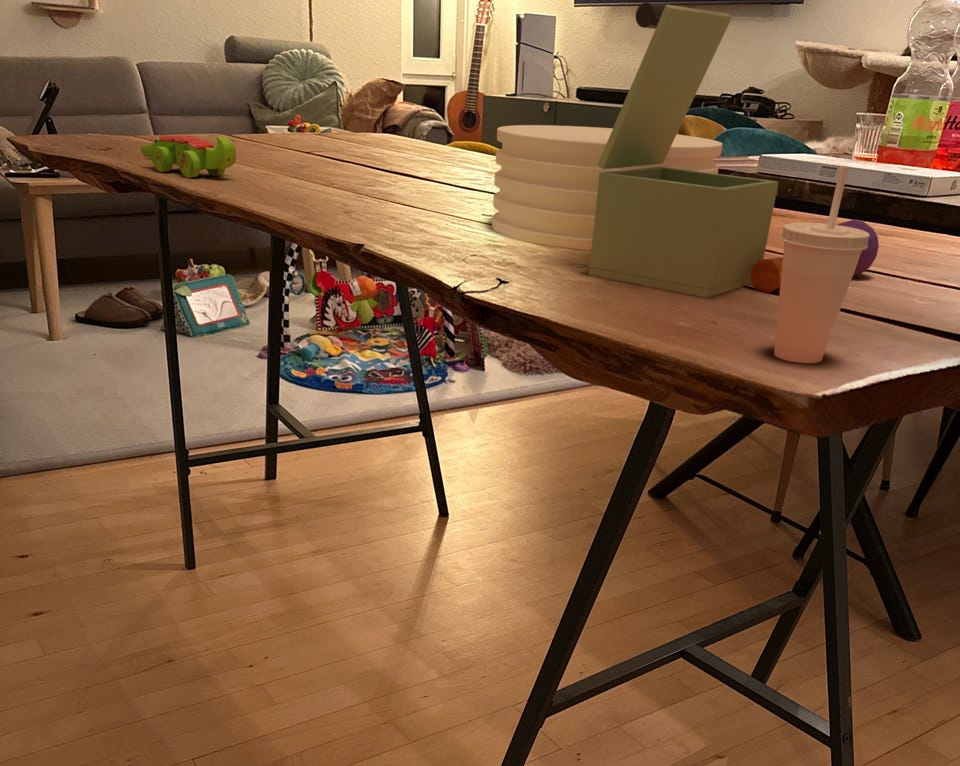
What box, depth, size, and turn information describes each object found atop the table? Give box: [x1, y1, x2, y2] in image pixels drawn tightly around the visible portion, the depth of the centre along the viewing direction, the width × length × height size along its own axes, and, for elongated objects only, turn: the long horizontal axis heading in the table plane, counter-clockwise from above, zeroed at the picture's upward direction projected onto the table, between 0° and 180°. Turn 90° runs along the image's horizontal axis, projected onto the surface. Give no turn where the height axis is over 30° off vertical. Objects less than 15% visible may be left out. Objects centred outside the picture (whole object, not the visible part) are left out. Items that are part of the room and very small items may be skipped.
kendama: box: [751, 219, 880, 294], centre depth 104 cm, size 6×6×20 cm
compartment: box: [588, 167, 779, 299], centre depth 100 cm, size 14×13×10 cm
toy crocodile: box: [140, 135, 237, 179], centre depth 154 cm, size 20×7×6 cm, turn 50°
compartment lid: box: [597, 2, 733, 169], centre depth 97 cm, size 15×13×5 cm
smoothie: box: [773, 165, 870, 364], centre depth 74 cm, size 6×6×14 cm
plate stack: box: [491, 124, 723, 251], centre depth 123 cm, size 28×28×12 cm
